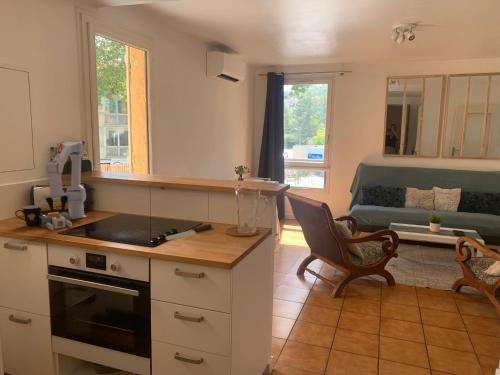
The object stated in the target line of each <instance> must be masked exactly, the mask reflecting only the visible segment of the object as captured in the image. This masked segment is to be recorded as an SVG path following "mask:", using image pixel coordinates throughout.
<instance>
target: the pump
mask: <svg viewBox="0 0 500 375" xmlns="http://www.w3.org/2000/svg"><path fill="white" fill-rule="evenodd" d="M52 223H53V226H54V230H55V229H56V230H57V229H60V228H61V229H63V228H66V226H67V225H66V224H65V218H64V217H63V216H56V217H54V218H52Z"/></svg>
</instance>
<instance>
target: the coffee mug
mask: <svg viewBox="0 0 500 375" xmlns="http://www.w3.org/2000/svg"><path fill="white" fill-rule="evenodd" d="M18 212H22V213H23V216H24V218H22V217H20V216H19V215H17V214H18ZM14 215H15V217H17V218H18V219H20V220H22V221H24V222H25V224H26V227H27V226H29V228H33V226H35V227H40V226H39V216H42V206H41V205H28V206H27V205H26V206H23V207H22V209H19V210H16V211H15V213H14Z"/></svg>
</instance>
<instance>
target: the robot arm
mask: <svg viewBox="0 0 500 375" xmlns="http://www.w3.org/2000/svg"><path fill="white" fill-rule="evenodd" d="M84 154H85V146H84V143H83V141H69V140H68V141H66V140H64V141H63V143H62V149H61V152H60V153H58V154H56V155H55V157H54V158H53V159H52V160H51V162H49V163H47V164H46V166H45V172H46V174H47V178H48V180H49V182H48V183H49V193H48V194H41V195H40V199H41V200H45V201H46V203H47V205H48V207H49V209H50V213H53V212H54V209H55V208H54V199H57V198H59V199H60V205H61V206H60V207H61V211H62V212H65V209H66V205H67V202H68V214H70V219H72V220H76V219H81V218H87V215H85V211H84V209H85V208H84V202H85V201H86V200H87V192H86V188H85V187H83V186H82V185H81V184H82V183H81V182H82V180H81V178H82V157H84ZM68 157H70V158H71V180H70V181H71V185H69V186H68V187H67V189H66V192H63V184H62V183H63V181H62V180H63V179H62V173H63V171H64V166H65V164H66V163H67V161H68Z"/></svg>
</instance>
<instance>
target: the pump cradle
mask: <svg viewBox="0 0 500 375" xmlns="http://www.w3.org/2000/svg"><path fill="white" fill-rule="evenodd" d="M65 224H66V226H67V227H68V228H73V222H71V220H70V221H68V220H65ZM45 228H47V229H49V230H50V231H55V228H54V226H53V225H52V224H50V223H49V222H46V227H45Z"/></svg>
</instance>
